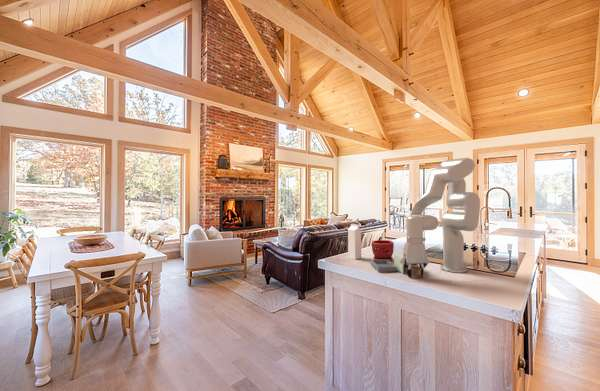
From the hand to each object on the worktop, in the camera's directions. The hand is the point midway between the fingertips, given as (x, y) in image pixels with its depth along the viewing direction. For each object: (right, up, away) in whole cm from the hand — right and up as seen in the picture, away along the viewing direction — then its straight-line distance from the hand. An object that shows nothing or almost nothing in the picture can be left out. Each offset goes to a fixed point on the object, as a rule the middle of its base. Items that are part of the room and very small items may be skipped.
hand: (415, 276), depth 130 cm
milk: (-22, 0, +39) cm, 45 cm away
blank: (0, 0, +4) cm, 4 cm away
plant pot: (-6, 0, +32) cm, 33 cm away
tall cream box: (0, 0, +11) cm, 11 cm away
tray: (-11, 0, +16) cm, 20 cm away
